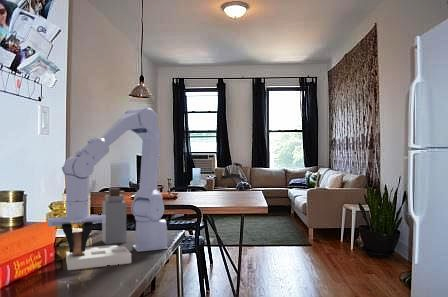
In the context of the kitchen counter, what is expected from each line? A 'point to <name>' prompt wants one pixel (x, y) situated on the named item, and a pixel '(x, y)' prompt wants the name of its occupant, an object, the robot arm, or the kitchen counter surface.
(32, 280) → the kitchen counter surface
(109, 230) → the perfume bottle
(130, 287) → the kitchen counter surface
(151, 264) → the kitchen counter surface
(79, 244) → the terracotta pin
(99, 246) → the studded grey block
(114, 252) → the peg board
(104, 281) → the kitchen counter surface
